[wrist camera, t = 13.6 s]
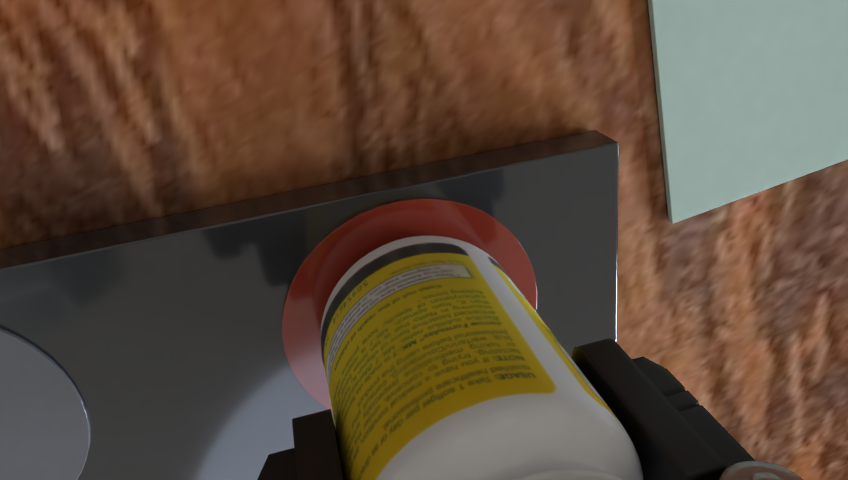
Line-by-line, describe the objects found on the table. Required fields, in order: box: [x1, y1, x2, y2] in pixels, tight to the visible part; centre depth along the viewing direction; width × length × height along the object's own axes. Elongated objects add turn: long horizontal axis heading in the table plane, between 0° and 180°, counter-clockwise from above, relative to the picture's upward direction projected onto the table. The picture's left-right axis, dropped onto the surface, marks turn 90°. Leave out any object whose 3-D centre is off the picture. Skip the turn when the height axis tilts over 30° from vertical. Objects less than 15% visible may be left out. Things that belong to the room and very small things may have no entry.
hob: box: [0, 130, 619, 480], centre depth 17 cm, size 14×22×1 cm, turn 97°
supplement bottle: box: [321, 236, 643, 480], centre depth 12 cm, size 5×5×8 cm
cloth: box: [648, 0, 848, 223], centre depth 16 cm, size 9×9×1 cm
